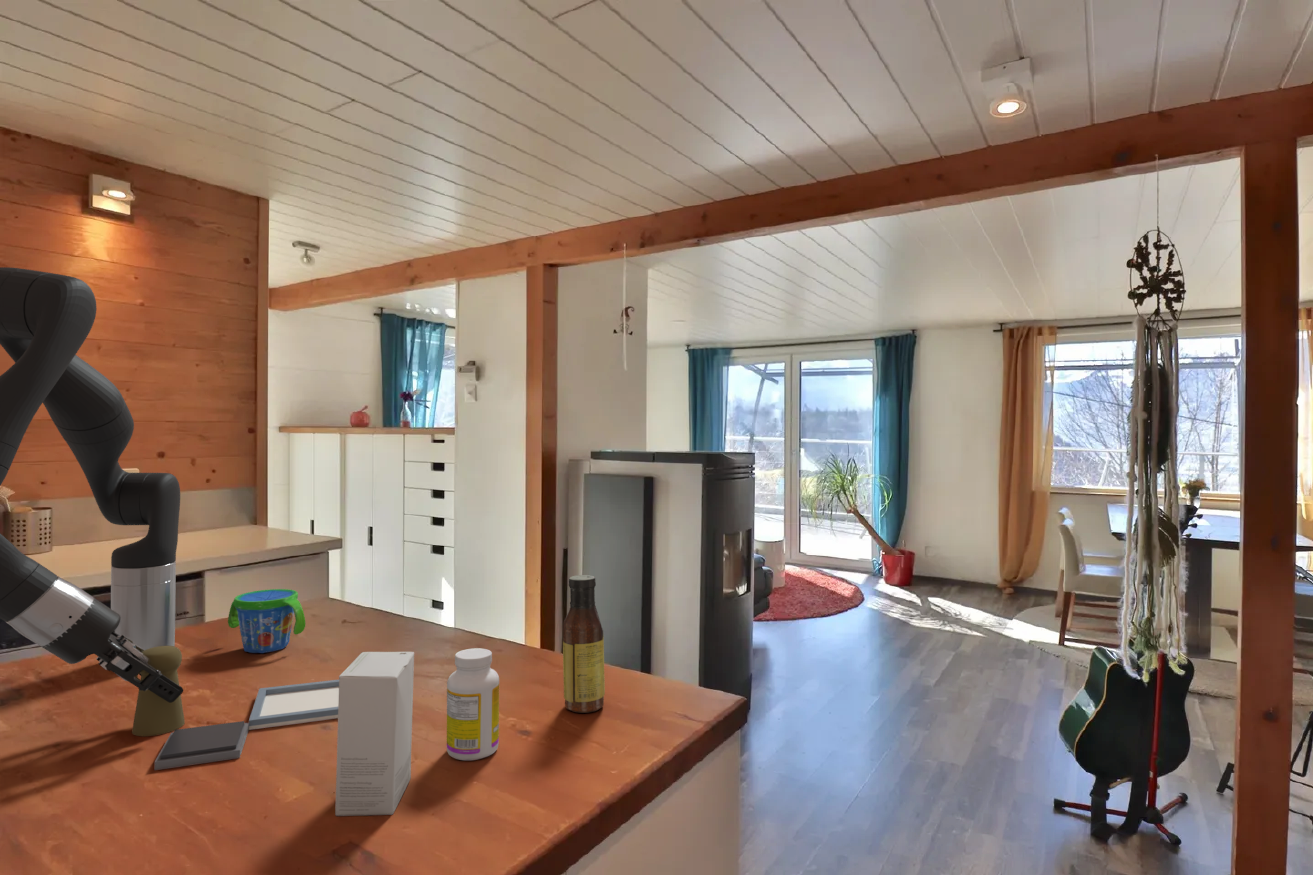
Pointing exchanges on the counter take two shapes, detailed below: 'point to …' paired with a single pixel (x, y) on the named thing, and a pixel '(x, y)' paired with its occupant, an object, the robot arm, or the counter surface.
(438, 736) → the counter surface
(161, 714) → the olive tapered round piece
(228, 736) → the ink pad
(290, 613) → the snack cup
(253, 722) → the blank framed board
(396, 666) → the skincare box
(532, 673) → the counter surface
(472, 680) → the supplement bottle
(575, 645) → the sauce bottle
